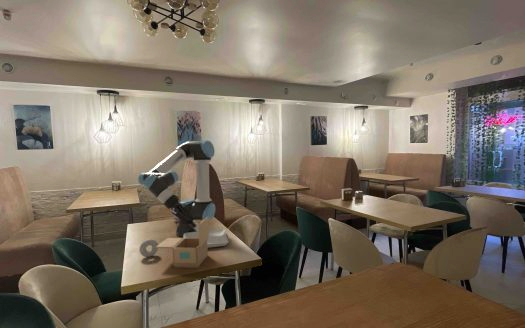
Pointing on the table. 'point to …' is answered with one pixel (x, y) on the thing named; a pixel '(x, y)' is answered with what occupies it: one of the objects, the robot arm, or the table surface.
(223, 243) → the square plate
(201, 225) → the flap
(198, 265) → the carton
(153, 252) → the donut
